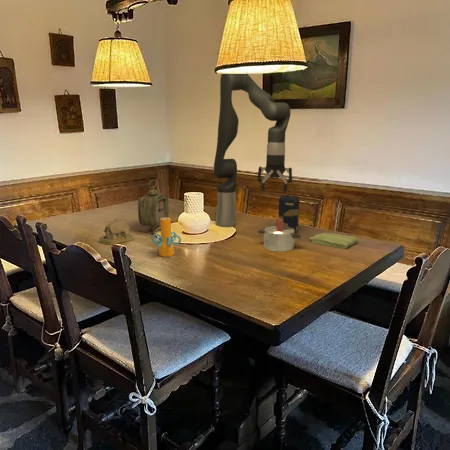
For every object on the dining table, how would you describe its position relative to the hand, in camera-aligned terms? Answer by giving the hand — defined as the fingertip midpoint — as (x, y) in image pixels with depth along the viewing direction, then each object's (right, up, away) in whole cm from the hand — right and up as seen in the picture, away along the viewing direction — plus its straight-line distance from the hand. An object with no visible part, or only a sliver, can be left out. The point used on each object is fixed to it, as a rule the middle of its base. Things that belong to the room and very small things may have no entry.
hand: (274, 191), depth 180 cm
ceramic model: (-69, -21, +12) cm, 73 cm away
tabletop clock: (-55, -17, +26) cm, 63 cm away
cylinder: (-44, -26, -7) cm, 52 cm away
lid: (+2, -18, 0) cm, 18 cm away
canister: (+10, -17, +25) cm, 32 cm away
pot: (+2, -23, +3) cm, 23 cm away
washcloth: (+27, -22, +9) cm, 36 cm away
